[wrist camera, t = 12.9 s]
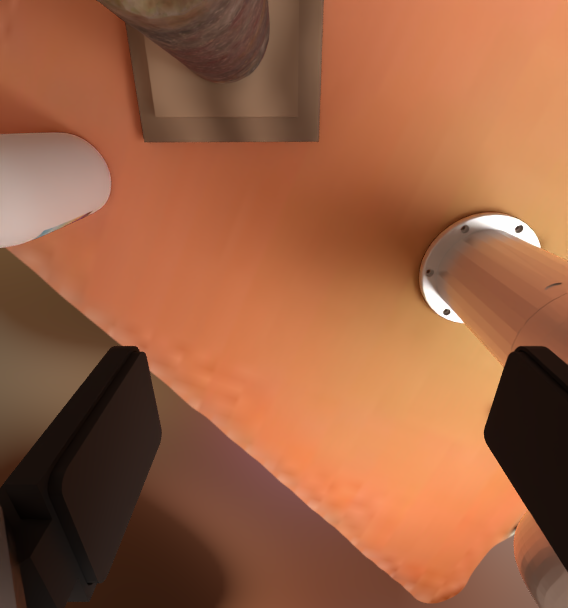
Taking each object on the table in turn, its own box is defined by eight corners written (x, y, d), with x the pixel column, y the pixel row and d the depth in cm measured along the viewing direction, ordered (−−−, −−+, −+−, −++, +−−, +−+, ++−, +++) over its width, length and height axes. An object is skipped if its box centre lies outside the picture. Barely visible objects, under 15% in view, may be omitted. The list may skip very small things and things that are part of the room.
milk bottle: (45, 115, 34) (-228, 102, 16) (125, 160, 35) (-40, 196, 17) (25, 188, 37) (-224, 249, 19) (100, 227, 38) (-64, 317, 20)
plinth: (325, -91, 28) (330, -119, 24) (317, 141, 35) (320, 142, 31) (114, -89, 28) (92, -117, 24) (149, 141, 35) (136, 143, 32)
